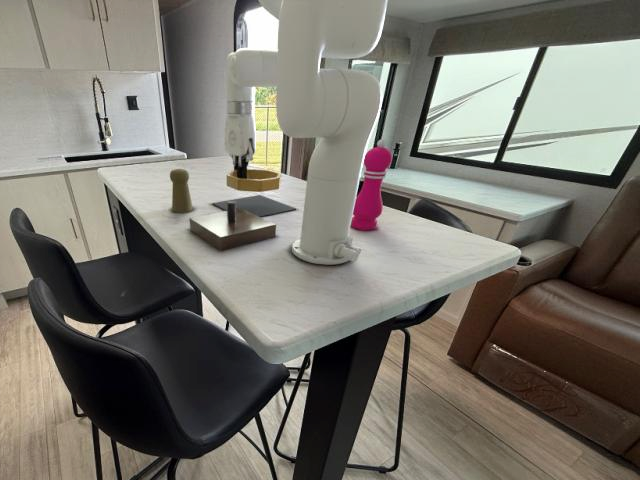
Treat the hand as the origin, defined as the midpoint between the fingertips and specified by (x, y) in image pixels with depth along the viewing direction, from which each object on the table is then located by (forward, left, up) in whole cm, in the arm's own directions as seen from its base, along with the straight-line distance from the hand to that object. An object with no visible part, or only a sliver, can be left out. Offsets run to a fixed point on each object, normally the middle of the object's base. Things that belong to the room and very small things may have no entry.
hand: (240, 179), depth 97 cm
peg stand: (-22, +17, -7) cm, 29 cm away
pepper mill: (-36, -14, -7) cm, 39 cm away
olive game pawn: (+2, +19, -7) cm, 20 cm away
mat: (-7, 0, -7) cm, 10 cm away
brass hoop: (-7, 0, +1) cm, 7 cm away
